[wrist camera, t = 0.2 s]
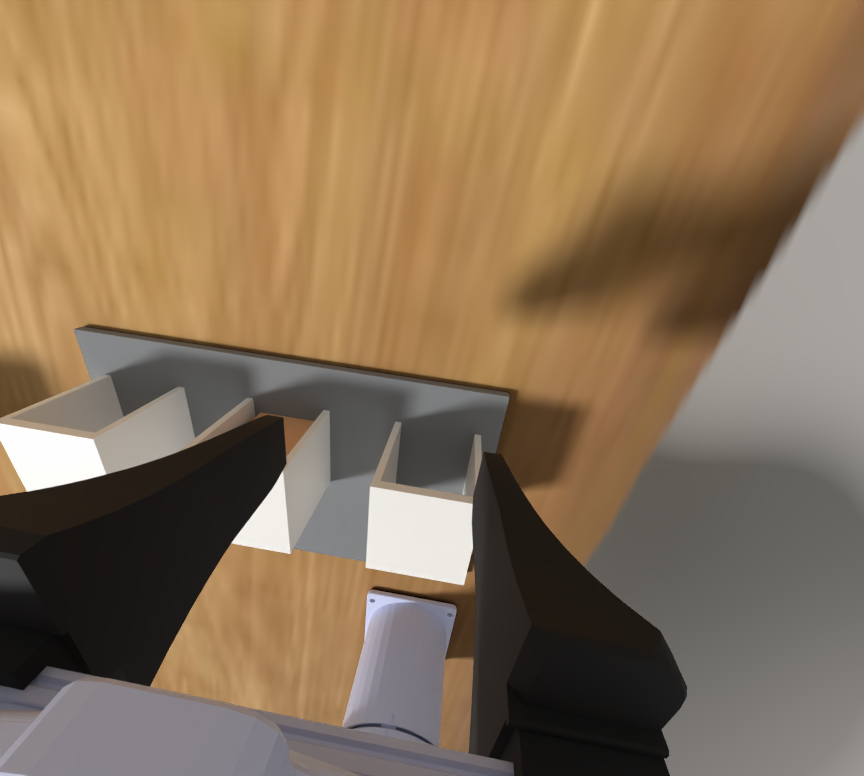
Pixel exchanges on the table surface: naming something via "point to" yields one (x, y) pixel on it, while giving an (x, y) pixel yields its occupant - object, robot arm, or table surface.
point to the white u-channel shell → (283, 483)
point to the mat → (314, 417)
